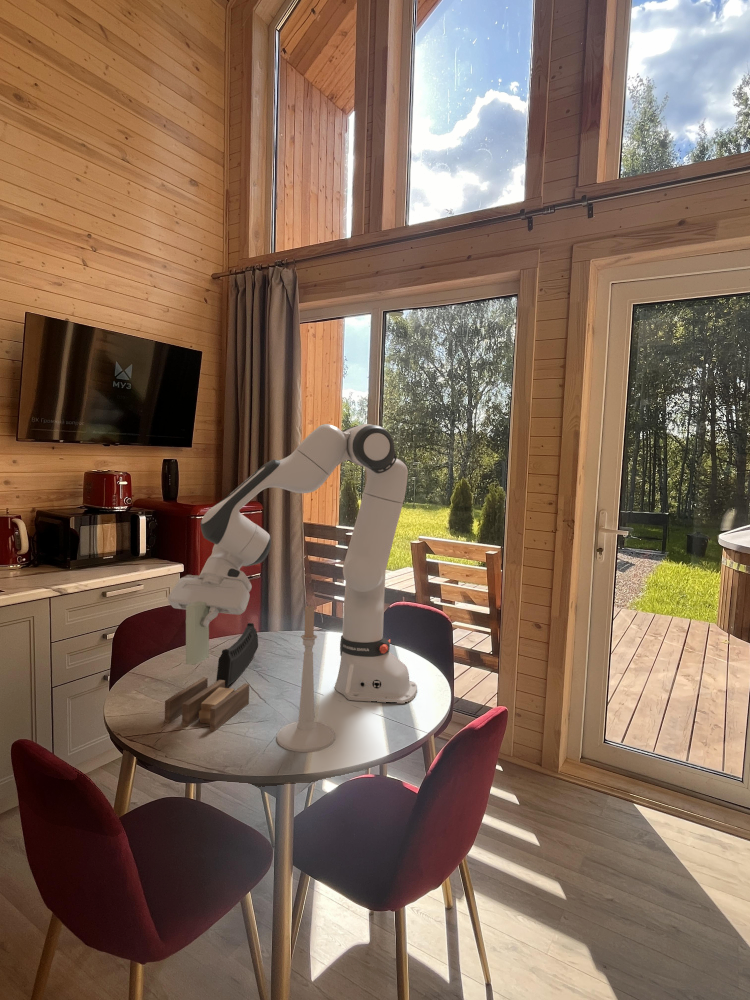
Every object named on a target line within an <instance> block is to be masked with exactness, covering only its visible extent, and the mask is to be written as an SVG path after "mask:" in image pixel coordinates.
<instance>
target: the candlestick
mask: <svg viewBox="0 0 750 1000" xmlns="http://www.w3.org/2000/svg"><path fill="white" fill-rule="evenodd" d="M314 628H315V606H314V605H306V606H305V608H304V634H302V635H300V639H302V645H303V646H304V652H303V663H302V674H301V687H300V698H299V709H298V720H297V721H294V722H291V723H288V724H286V725H285V726H283V727H281V728H280V730H278V732H277V734H276V742H277V744H278V745H280V746H281V747H282V748H284V749H285V750H288V751H291V752H292V751H293V752H298V753H309V752H317V751H321V750H324V749H326V748H329V747H330V746H332V744H333V743H334V742H335V740H336V733H335V731H334V730H333V728H331V727H330V726H329V725H328V724H325V723H323V722H320V721H316V720H315V696H314V695H315V690H314V689H315V687H314V686H315V683H314V680H315V679H314V652H313V649H314V646H315V644H316V642H315V640H316V639H317V638H318V636H317V634H315V633H314V631H315V629H314Z"/></svg>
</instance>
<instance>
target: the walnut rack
mask: <svg viewBox="0 0 750 1000" xmlns="http://www.w3.org/2000/svg"><path fill="white" fill-rule="evenodd" d="M208 679H209V678H208V677H204V676H203V677H202V678H200V679H199V680H196V681H195V682H193V683H191V684H190V685H189V686H187V687H186V688H184V689H182V690H181V691H179V692H177V693H176V694H174V695H173V696H171V697H169V698H168V699H166V700H164V723H166V722H167V724H169V723H171V722H173V721H174V720H176V719H177V718H179V717H180V716H181V726H184V727H189V726H191V725H192V724H193V723H195V722H196V721H197V720H200V718H199V711H200V710H201V703H202V702H203V701H204V700H205V699H207V698H208V697H209V696H210V695H211V694H212V693H213V692H215V691H216V690H217V689H218V688H219V687H221V688H226V687H225V680H218V681H217V682H216V681H215V682H214V683H212V684H210V685H209V686H208V683H209V681H208ZM249 704H250V684H249V683H243V684H242V685H241V686H239V687H238V688H237V689H236V690H235V689H234V692H232V693H231V694H230V695H228V696H227V697H226V698H224V699H223V700H221V701H220V702H219V703H217V704H216V705H215V706H213V707H212V708H210V723H209V731H212V732H216V731H217V730H218V729H219V728H221V727H222V726H223V725H224V724H226V723H227V722H228V721H229V720H231V718H233V717H234V716H235V715H236V714H238V713H239V712H240V711H241V710H243V709H244V708H246V706H247V705H249ZM181 714H182V715H181Z"/></svg>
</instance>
